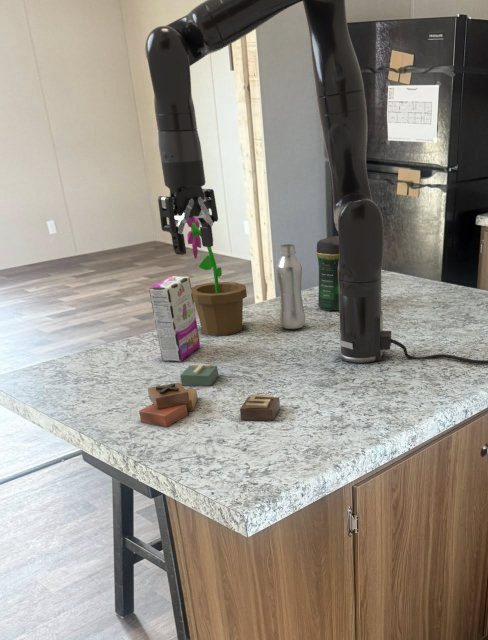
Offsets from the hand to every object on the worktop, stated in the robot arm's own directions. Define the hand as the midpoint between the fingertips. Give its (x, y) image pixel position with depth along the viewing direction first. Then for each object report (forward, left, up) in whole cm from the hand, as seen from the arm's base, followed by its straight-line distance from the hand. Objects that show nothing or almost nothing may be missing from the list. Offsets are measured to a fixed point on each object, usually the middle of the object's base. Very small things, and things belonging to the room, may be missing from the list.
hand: (194, 250), depth 138 cm
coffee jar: (-19, -55, -25) cm, 64 cm away
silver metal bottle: (-11, -34, -25) cm, 44 cm away
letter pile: (+1, +22, -25) cm, 33 cm away
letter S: (-16, +22, -25) cm, 37 cm away
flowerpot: (+7, -32, -25) cm, 41 cm away
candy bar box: (+11, -12, -25) cm, 30 cm away
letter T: (+1, +5, -25) cm, 26 cm away
